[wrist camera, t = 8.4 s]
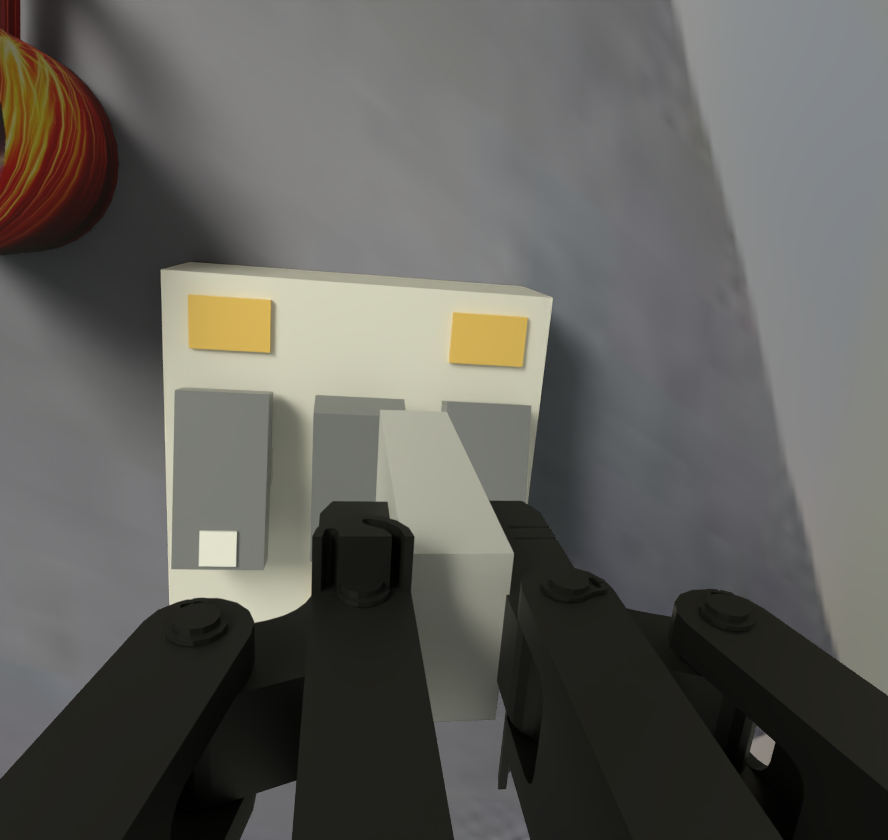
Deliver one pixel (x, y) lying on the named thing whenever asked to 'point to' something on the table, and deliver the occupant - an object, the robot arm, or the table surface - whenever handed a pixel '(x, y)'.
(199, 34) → the table surface
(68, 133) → the mug
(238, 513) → the block
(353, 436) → the block
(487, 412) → the block
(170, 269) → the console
